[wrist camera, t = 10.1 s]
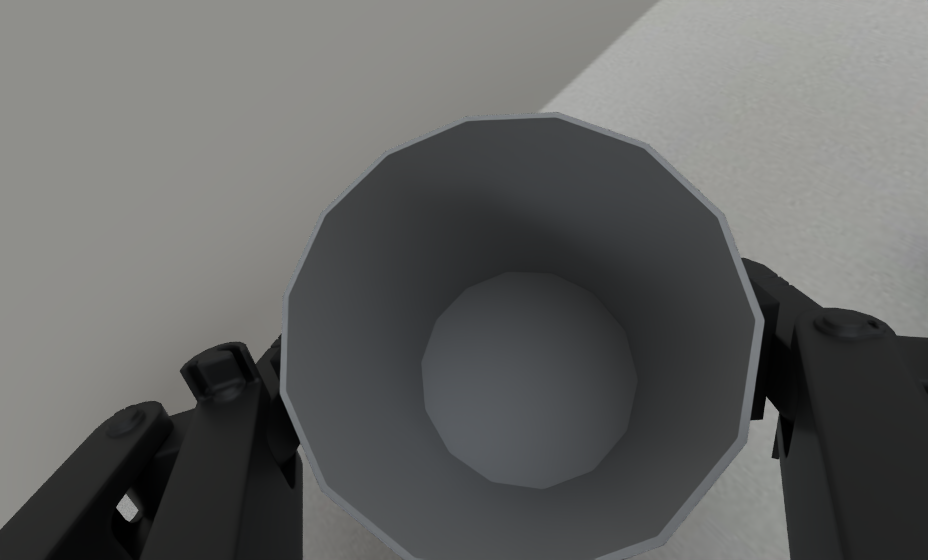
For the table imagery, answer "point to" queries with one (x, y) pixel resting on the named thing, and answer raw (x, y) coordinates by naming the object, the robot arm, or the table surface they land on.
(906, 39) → the table surface
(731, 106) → the table surface
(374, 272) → the cup
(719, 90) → the table surface
